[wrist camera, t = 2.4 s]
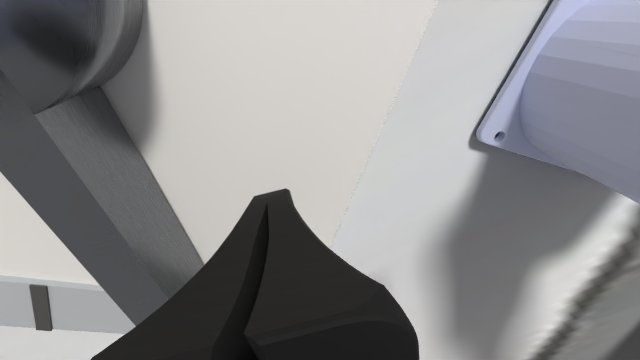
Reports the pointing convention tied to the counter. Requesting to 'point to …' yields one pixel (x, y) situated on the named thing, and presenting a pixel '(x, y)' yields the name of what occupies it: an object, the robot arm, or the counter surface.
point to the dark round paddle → (86, 148)
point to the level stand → (227, 131)
